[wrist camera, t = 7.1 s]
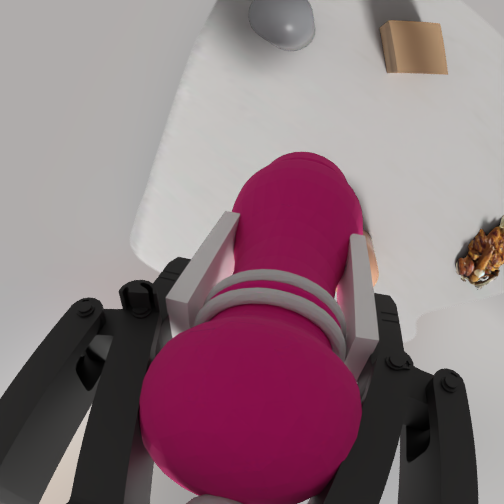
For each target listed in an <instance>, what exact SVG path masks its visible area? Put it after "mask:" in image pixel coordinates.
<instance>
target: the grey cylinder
mask: <svg viewBox="0 0 504 504" xmlns="http://www.w3.org/2000/svg"><path fill="white" fill-rule="evenodd" d="M249 21H250V24H251V26H252V28H253V30H254V31H255V32H256V33H257V34H258V35H259V36H261V37H262V38H264V39H265V40H267V41H269V42H270V43H272V44H273V45H275V46H276V47H278V48H280V49H283V50H287V51H296V50H300V49H302V48H304V47H306V46H307V45H309V44H310V43H311V41H312V40H313V38H314V35H315V24H314V17H313V11H312V8H311V5H310V3H309V2H308V0H254V1H253V2H252V4H251V6H250V9H249Z"/></svg>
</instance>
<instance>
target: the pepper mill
mask: <svg viewBox="0 0 504 504" xmlns="http://www.w3.org/2000/svg"><path fill="white" fill-rule="evenodd" d="M232 212H234V213H240V218H239V222H238V226H237V231H236V236H235V243H234V261H235V265H234V272H233V275H231V276H229V277H227V278H225V279H223V280H222V281H220V282H219V283H218V284H216V285H215V286H214V287H213V288H212V290H211V291H210V293H209V294H208V296H207V297H206V299H205V302H204V304H203V307H202V309H201V310H200V311H199V313H198V314H197V316H196V319H195V322H194V325H193V327H192V328H190V329H188V330H186V331H184V332H181V333H179V334H178V335H176V336H175V337H174V338H172V339H171V340H169V341H168V342H167V343H166V345H165V346H164V347H163V348H162V349H161V351H160V352H159V353H158V354H157V356H156V357H155V358H154V360H153V361H152V363H151V364H150V366H149V368H148V370H147V373H146V375H145V377H144V380H143V384H142V389H141V395H140V403H139V424H140V431H141V436H142V440H143V444H144V446H145V448H146V449H147V451H148V453H149V455H150V456H151V458H152V460H153V461H154V462H155V463H156V464H157V466H158V467H159V468H160V469H161V470H162V471H163V472H164V474H166V475H167V476H168V477H169V478H171V479H172V480H173V481H174V482H176V483H177V484H179V485H180V486H181V487H183V488H185V489H187V490H188V491H190V492H192V493H194V494H196V495H198V497H195V498H193V499H191V500H190V501H189V502H188V503H186V504H297V503H300V502H303V501H305V500H307V499H309V498H311V497H313V496H315V495H317V494H320V493H321V492H322V490H323V489H324V488H325V487H326V485H327V484H328V483H329V482H330V480H331V479H332V478H333V476H334V475H335V473H336V471H337V470H338V468H339V466H340V464H341V463H342V462H343V461H344V460H345V459H346V457H347V456H348V454H349V452H350V450H351V448H352V446H353V444H354V442H355V440H356V438H357V435H358V431H359V426H360V421H361V416H362V407H361V399H360V391H359V387H358V385H357V383H356V380H355V378H354V376H353V374H352V372H351V371H350V370H349V369H348V367H347V366H346V365H345V364H344V361H345V357H346V342H345V338H346V329H347V328H346V322H345V317H344V315H343V312H342V310H341V308H340V306H339V305H338V303H337V302H336V301H335V300H334V297H335V291H336V288H337V285H338V283H339V281H340V279H341V278H342V276H343V274H344V270H345V266H346V261H347V255H348V248H349V240H350V236H351V235H352V234H359V235H363V217H362V210H361V206H360V203H359V200H358V198H357V196H356V195H355V193H354V191H353V189H352V188H351V187H350V186H349V184H348V183H347V180H346V178H345V176H344V175H343V173H342V172H341V170H340V169H339V168H338V167H337V166H336V165H335V164H334V163H333V162H331V161H330V160H328V159H326V158H325V157H323V156H320V155H317V154H315V153H310V152H294V153H289V154H286V155H283V156H281V157H279V158H277V159H276V160H274V161H273V162H272V163H271V164H270V165H268V166H266V167H265V168H263V169H261V170H260V171H258V172H256V173H255V174H254V175H253V176H252V177H251V178H250V179H249V180H248V181H247V182H246V183H245V185H244V186H243V188H242V189H241V191H240V193H239V195H238V197H237V199H236V201H235V204H234V207H233V210H232Z"/></svg>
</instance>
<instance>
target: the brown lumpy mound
mask: <svg viewBox="0 0 504 504" xmlns="http://www.w3.org/2000/svg"><path fill="white" fill-rule="evenodd" d="M468 249H469V252H468V255H467V256H466V258H464V259H463V258H459V259H458V260H457V263H456V270H457V271H456V272H457V274H459V275H461V277H462V278H463V279H468V280H469V282H470V283H471V284H473V285H475V287H477V288H479V289H481V288H482V286H484V285H487V284H488V283H489V282H490V281H492V280H495V279H496V277H497V276H498V274H499V271H500V270H498V269H499V267H500V266H501V265H502V264H504V215H503V216H502V219H501V223H500V226H499V227H495V228H494V229H493V230H492V231H491V232H490V233H489V234H488V235H487V236H486V235H485V232H484V231H483V230H482V229H480V232H479V233H478V234H477V235H476V236H475V237H474V239H473V240H472V241H471V242H470V244H469V245H468ZM485 276H486V277H485ZM487 276H489V278H488V279H487V280H485V281H483V282H482V280H480V281H478V280H479V279H480V278H483V279H485V278H487ZM462 278H461V280H463V279H462ZM463 281H466V280H463ZM477 281H478V282H477ZM477 290H478V289H477Z"/></svg>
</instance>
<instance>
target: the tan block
mask: <svg viewBox="0 0 504 504" xmlns="http://www.w3.org/2000/svg"><path fill="white" fill-rule="evenodd" d="M379 29H380V34H381V39H382V45H383V50H384V56H385V63H386V69H387V73H423V74H447V75H448V71H447V63H446V56H445V49H444V43H443V37H442V31H441V26H440V24H438V23H428V22H416V21H396V20H389V21H387V22H386V23H385V24H384V25H383V26H381V27H380V28H379Z"/></svg>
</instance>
